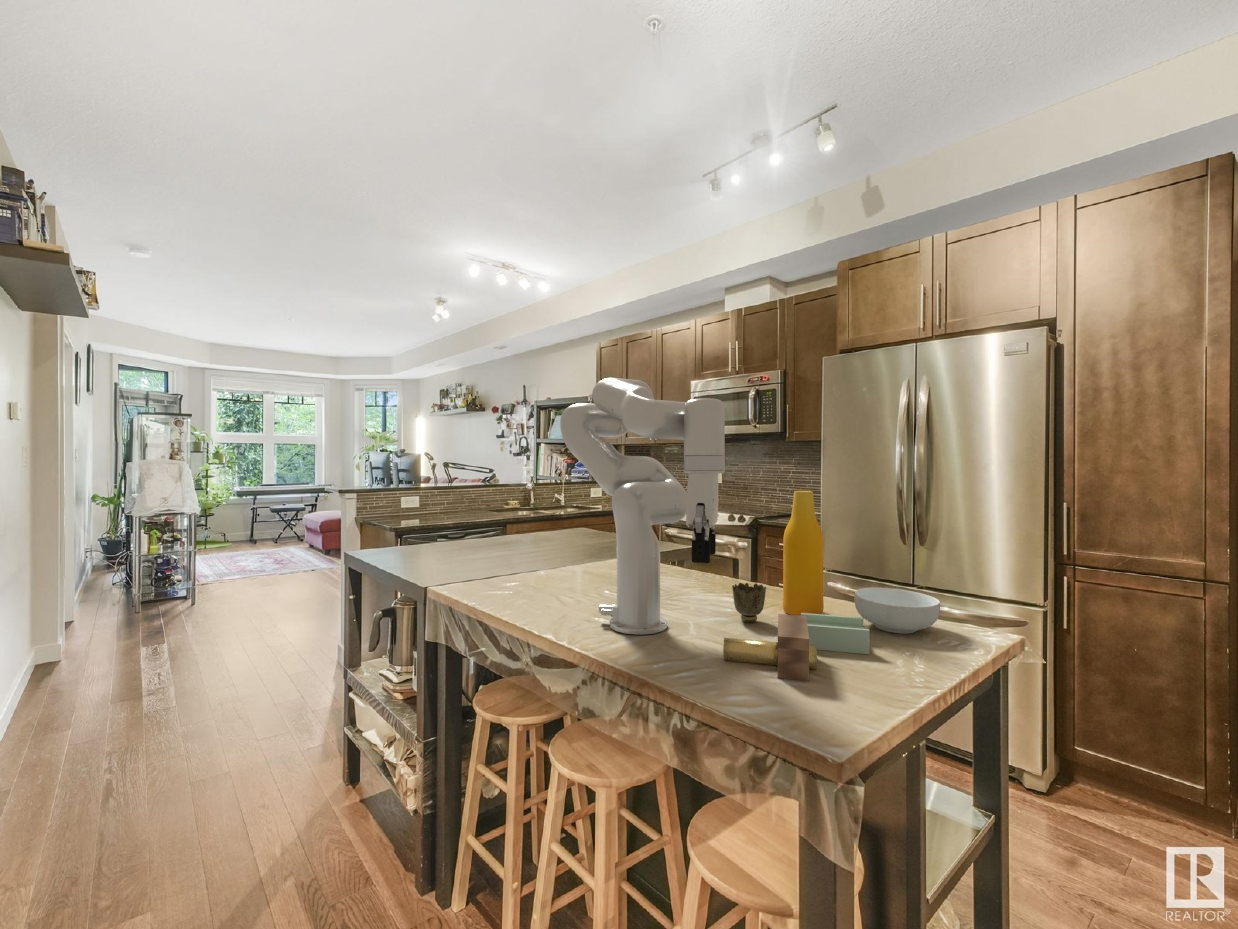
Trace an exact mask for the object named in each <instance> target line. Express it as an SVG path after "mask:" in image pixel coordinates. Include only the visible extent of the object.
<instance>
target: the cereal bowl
mask: <svg viewBox="0 0 1238 929" xmlns="http://www.w3.org/2000/svg"><path fill="white" fill-rule="evenodd" d="M853 596H854V597H853V599H854V606H855V609H856V611H857V613H858V614H859V615H860V617H863V619H864V621H865V620H866V621H867V622H868V623H870V624H873V625H874V626H875V627H876V628H877V629H879V630H882V631H884V632H888V633H893V634H894V633H895V634H913V633H915V632H917V631H921V630H924V629H928V628H930V627H932V626H933V625H934V624H935V623H936V622H937V620H938V618H939V617H940V611H941V601H940V600H939V599H938V598H936V597H934V596H931V595H929V594H925V593H921V592H917V591H912V590H907V589H902V588H901V589H899V588H891V587H890V588H889V587H863V588H859V589H857V590H855V592H854V595H853Z"/></svg>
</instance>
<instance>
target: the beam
mask: <svg viewBox="0 0 1238 929" xmlns="http://www.w3.org/2000/svg"><path fill="white" fill-rule="evenodd" d="M777 615H778V616H777V617H778V618H777V619H778V620H777V642H778V666H777V678H778V679H787V680H795V681H796V680H797V681H804V682H805V681H806V682H809V681H810V669H809V634H808V628H807V621H806V616H799V615H789V614H787V613H786V614H783V613H778V614H777Z"/></svg>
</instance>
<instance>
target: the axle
mask: <svg viewBox="0 0 1238 929" xmlns="http://www.w3.org/2000/svg"><path fill="white" fill-rule="evenodd" d="M722 650H723V651H722V654H723V655H722V656H723V661H729V662H739V663H748V664H757V665H758V664H759V665H760V664H761V665H767V666H768V665H769V666H777V667H778V641H767V640H757V639H756V640H755V639H745V638H743V639H742V638H734V637H733V638H732V637H724V638H723V649H722ZM817 652H818V650H817V648H816V646H814V645H809V670H817V668H818V653H817Z"/></svg>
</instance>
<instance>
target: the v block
mask: <svg viewBox="0 0 1238 929" xmlns="http://www.w3.org/2000/svg"><path fill="white" fill-rule="evenodd" d="M801 616H806V621H807V628H808V634H809V645H814V646H816V648H817V651H830V652H840V653H849V654H850V653H851V654H859V655H860V654H862V655H870V636H871V635H870V628H865V627H864V622H865V619H864V618H863V617H862V616H860V617H859V616H846V615H834V614H823V613H822V614H810V613H801Z"/></svg>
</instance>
